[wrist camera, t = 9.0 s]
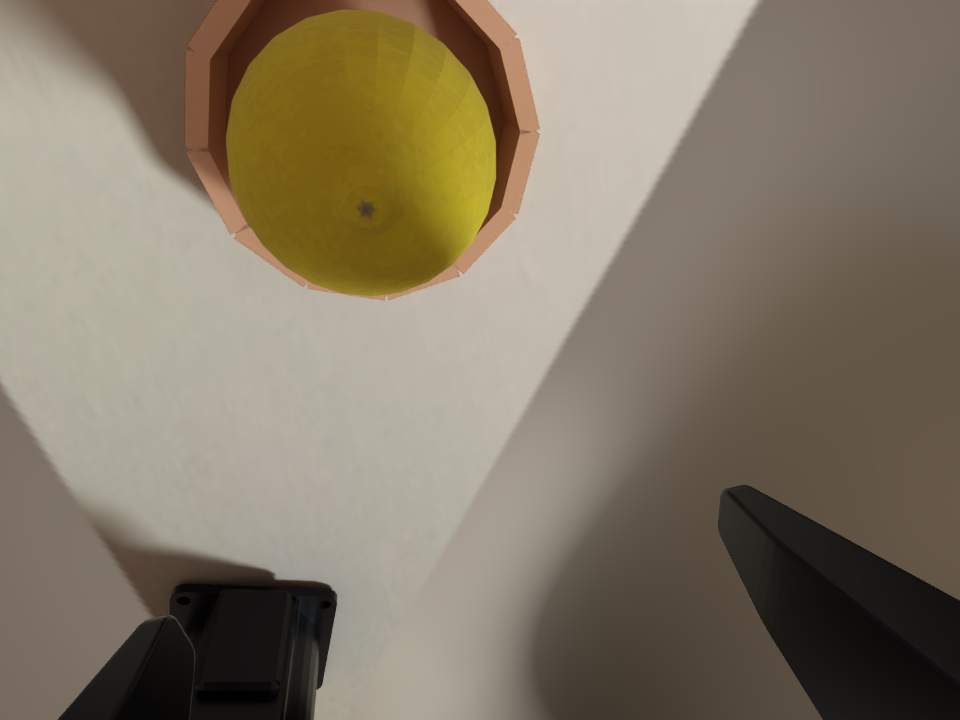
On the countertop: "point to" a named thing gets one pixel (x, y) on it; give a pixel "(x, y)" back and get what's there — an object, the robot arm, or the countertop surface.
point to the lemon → (361, 152)
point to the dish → (427, 3)
